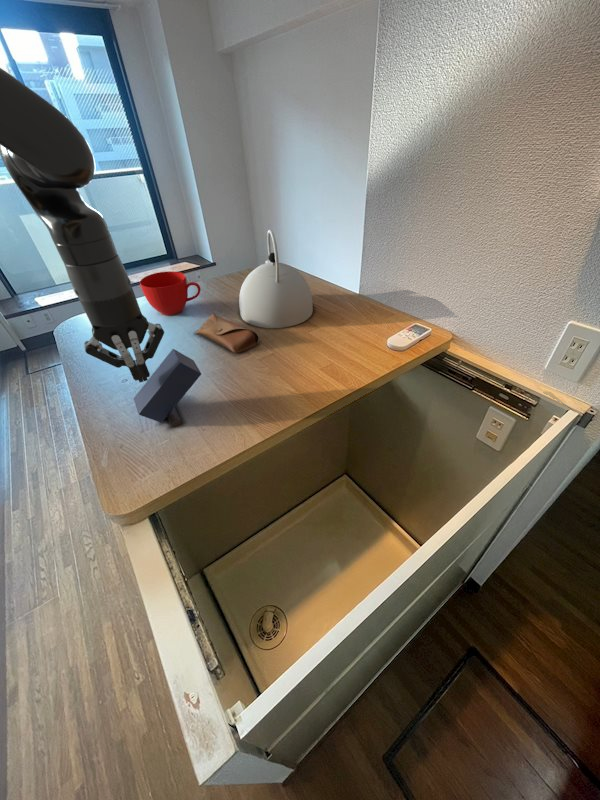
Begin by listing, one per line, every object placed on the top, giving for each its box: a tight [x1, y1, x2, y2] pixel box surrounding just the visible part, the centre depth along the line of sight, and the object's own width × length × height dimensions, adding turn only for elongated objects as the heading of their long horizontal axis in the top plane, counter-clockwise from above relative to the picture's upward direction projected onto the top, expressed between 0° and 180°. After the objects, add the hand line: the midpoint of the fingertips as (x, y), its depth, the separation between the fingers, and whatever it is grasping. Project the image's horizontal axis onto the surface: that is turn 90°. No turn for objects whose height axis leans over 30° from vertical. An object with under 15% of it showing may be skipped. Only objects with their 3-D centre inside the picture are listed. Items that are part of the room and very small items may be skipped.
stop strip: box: [166, 406, 182, 428], centre depth 67 cm, size 2×10×1 cm, turn 30°
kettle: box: [238, 229, 314, 329], centre depth 95 cm, size 25×23×22 cm
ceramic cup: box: [139, 270, 201, 316], centre depth 99 cm, size 13×17×10 cm
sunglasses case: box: [194, 312, 260, 354], centre depth 89 cm, size 18×7×7 cm, turn 51°
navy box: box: [133, 348, 202, 424], centre depth 64 cm, size 5×6×13 cm
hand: (142, 379), depth 61 cm, fingers closed
